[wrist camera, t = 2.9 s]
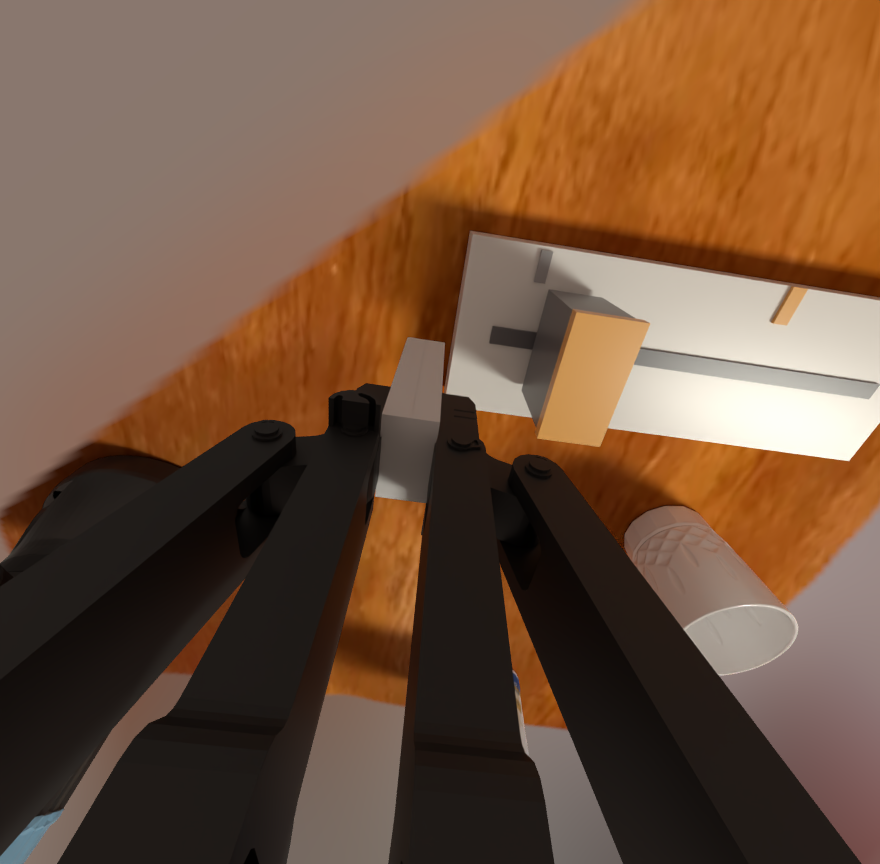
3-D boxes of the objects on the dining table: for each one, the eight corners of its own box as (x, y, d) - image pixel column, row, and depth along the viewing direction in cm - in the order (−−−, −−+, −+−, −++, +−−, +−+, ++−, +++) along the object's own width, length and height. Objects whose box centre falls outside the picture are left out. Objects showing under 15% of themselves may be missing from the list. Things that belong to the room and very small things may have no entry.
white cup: (626, 574, 38) (680, 685, 29) (606, 516, 34) (660, 624, 25) (715, 549, 36) (800, 660, 27) (703, 486, 32) (797, 590, 24)
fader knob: (519, 391, 24) (537, 438, 20) (547, 286, 21) (576, 312, 17) (569, 398, 25) (599, 446, 20) (604, 296, 22) (650, 323, 17)
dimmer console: (444, 386, 28) (444, 406, 25) (469, 230, 23) (472, 234, 20) (813, 438, 30) (851, 462, 27) (912, 302, 25) (970, 315, 22)
